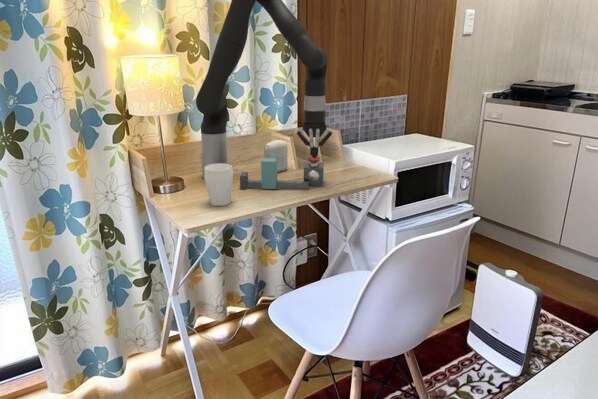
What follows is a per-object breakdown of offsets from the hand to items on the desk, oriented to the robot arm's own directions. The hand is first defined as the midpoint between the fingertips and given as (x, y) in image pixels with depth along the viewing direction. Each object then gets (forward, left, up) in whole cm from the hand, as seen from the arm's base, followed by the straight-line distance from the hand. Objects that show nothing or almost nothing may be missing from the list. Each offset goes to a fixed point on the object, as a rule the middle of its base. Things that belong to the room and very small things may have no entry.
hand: (314, 156), depth 166 cm
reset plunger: (0, 0, -7) cm, 7 cm away
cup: (-30, -22, -10) cm, 39 cm away
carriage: (-16, -6, -10) cm, 20 cm away
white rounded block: (-16, +15, -10) cm, 24 cm away
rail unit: (-11, -2, -10) cm, 15 cm away
